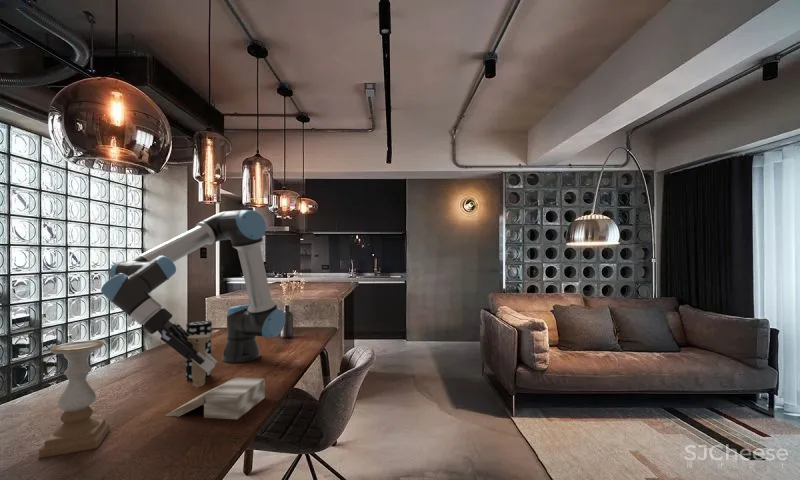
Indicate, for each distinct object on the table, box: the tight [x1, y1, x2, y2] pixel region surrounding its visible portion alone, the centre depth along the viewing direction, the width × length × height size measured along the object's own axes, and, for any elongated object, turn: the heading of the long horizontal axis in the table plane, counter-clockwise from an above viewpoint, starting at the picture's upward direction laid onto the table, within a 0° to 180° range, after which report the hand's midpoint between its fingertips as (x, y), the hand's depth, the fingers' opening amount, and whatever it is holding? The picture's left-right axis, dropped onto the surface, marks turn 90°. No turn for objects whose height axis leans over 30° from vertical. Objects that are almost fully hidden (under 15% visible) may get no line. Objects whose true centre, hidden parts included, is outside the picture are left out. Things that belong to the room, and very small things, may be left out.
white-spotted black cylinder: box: [185, 320, 213, 382], centre depth 144 cm, size 8×8×20 cm
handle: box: [187, 334, 212, 388], centre depth 119 cm, size 5×6×15 cm
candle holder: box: [38, 339, 110, 459], centre depth 95 cm, size 11×11×24 cm
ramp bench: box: [164, 377, 266, 420], centre depth 117 cm, size 16×22×8 cm
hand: (212, 367), depth 120 cm, fingers closed on handle, 4 cm apart
